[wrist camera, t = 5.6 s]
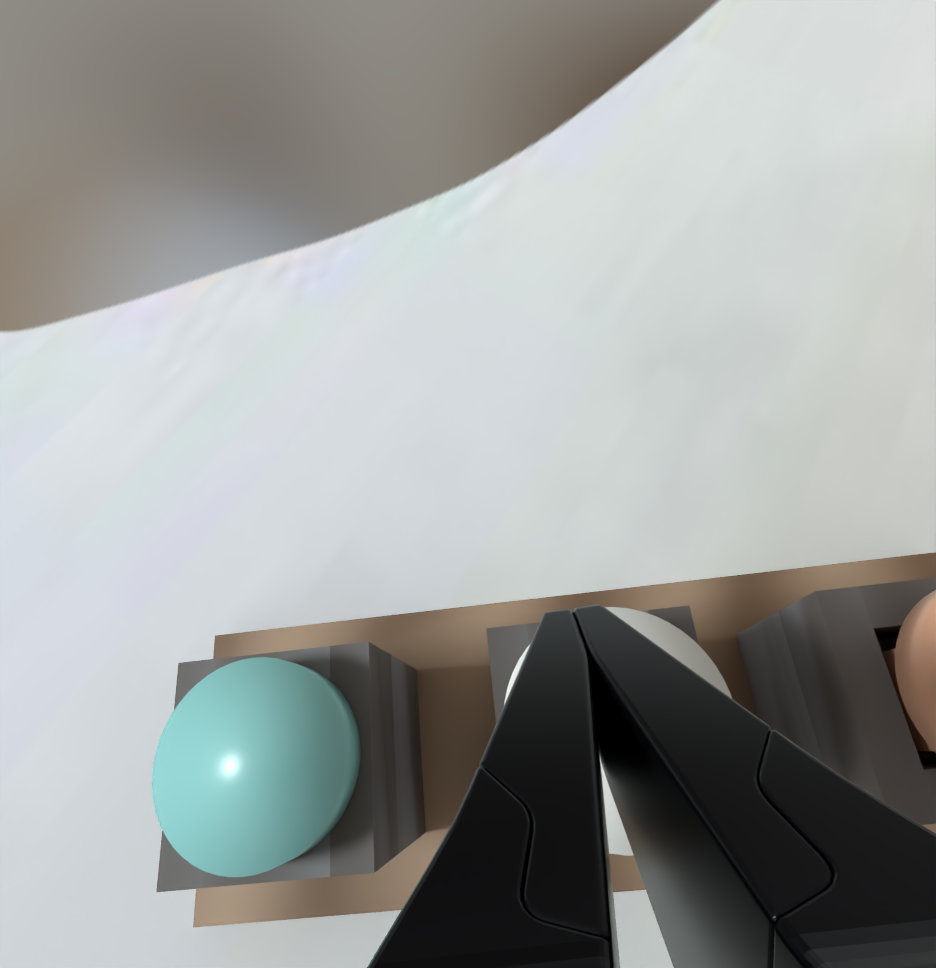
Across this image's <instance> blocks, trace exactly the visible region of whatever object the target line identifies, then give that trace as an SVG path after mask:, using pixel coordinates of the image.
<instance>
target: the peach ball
mask: <svg viewBox="0 0 936 968" xmlns="http://www.w3.org/2000/svg"><path fill="white" fill-rule="evenodd" d="M882 654H883V657H884V660H885V663H886V665H887V668H888V671H889V674H890V677H891V679H892V682H893V685H894V688H895V691H896V693H897V696H898V699H899V702H900V705H901V707H902V710H903V713H904V716H905V719H906V721H907V724H908V727H909V730H910V733H911V735H912V738H913V741H914V744H915V747H916V749H917V751H934V752H935V753H936V590H935V591H933V592H931V593H930V594H928V595H927V596H925V597H924V598H923V599H921V600H920V601H919V602H918V603H917V604H916V605H915V606H914V607H913V608H912V610H911V611H910V612H909V614H908V615H907V617H906V618H905V620H904V622H903V624H902V626H901V629H900V631H899V635H898V638H897V642H896V648H895V649H891V650H887V651H883V652H882Z"/></svg>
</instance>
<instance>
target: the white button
mask: <svg viewBox="0 0 936 968" xmlns="http://www.w3.org/2000/svg"><path fill="white" fill-rule="evenodd" d="M605 608H607V609H608V610H609V611H611V612H612V613H614V614H615V615H616V616H618V617H619V618H620V619H622V620H623V621H625V622H626V623H627V624H629V625H630V626H632V627H633V628H634V629H636V630H637V631H639V632H640V633H641V634H643V635H644V636H645V637H647V638H648V639H650V640H651V641H652V642H654V643H655V644H657V645H658V646H659V647H661V648H662V649H664V650H665V651H666V652H668V653H669V654H670V655H672V656H673V657H675V658H676V659H677V660H679V661H680V662H682V663H683V664H684V665H686V666H687V667H689V668H690V669H691V670H693V671H694V672H696V673H697V674H698V675H700V676H701V677H702V678H704V679H705V680H707V681H708V682H709V683H711V684H712V685H714V686H715V687H716V688H718V689H719V690H721V691H722V692H723V693H725V694H726V695H727V696H729V697H730V698H732V697H731V694H730V692H729V689H728V687H727V685H726V683H725V681H724V679H723V677H722V675H721V674H720V672H719V670H718V669H717V667H716V665H715V664H714V663H713V661H712V660H711V659H710V657H709V656H708V655H707V654H706V652H705V651H704V650H703V649H702V648H701V647H700V646H699V645H698V644H697V643H696V642H695V641H694V640H693V639H691V638H690V637H689V636H688V635H687V634H685V633H684V632H683V631H682V630H680V629H678V628H677V627H675V626H674V625H672V624H671V623H669V622H667V621H665V620H663V619H661V618H659V617H656V616H654V615H651V614H648V613H645V612H642V611H638V610H633V609H629V608H619V607H605ZM529 646H530V645H529ZM529 646H528V647H527V648H526V650H525V651H524V653H523V654H522V656H521V657H520V659H519V661H518V663H517V665H516V667H515V669H514V671H513V673H512V676H511V679H510V681H509V684H508V687H507V692H506V697H505V702H506V700H507V697H508V695H509V693H510V690H511V688H512V686H513V683H514V681H515V679H516V676H517V674H518V672H519V669H520V667H521V665H522V662H523V660H524V658H525V655H526V653H527V651H528V648H529ZM505 702H504V704H505ZM600 763H601V760H600ZM601 773H602V782H603V793H604V803H605V814H606V824H607V835H608V845H609V853H610V854H618V855H625V856H634V855H633V852H632V849H631V846H630V843H629V841H628V838H627V835H626V832H625V830H624V827H623V824H622V821H621V818H620V816H619V813H618V810H617V807H616V804H615V802H614V799H613V796H612V793H611V790H610V788H609V785H608V782H607V779H606V776H605V773H604V770H603V767H602V763H601Z"/></svg>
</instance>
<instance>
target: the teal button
mask: <svg viewBox="0 0 936 968" xmlns="http://www.w3.org/2000/svg"><path fill="white" fill-rule="evenodd" d="M360 754H361V748H360V736H359V731H358V726H357V722H356V719H355V716H354V713H353V711H352V709H351V707H350V705H349V703H348V701H347V700H346V698H345V697H344V695H343V694H342V692H341V691H340V690H339V689H338V688H337V687H336V686H335V684H334V683H332V682H331V681H330V680H329V679H328V678H326V677H325V676H323V675H322V674H320V673H318V672H317V671H315V670H312V669H310V668H307V667H305V666H302V665H298V664H295V663H292V662H289V661H285V660H281V659H277V658H269V657H257V658H249V659H243V660H239V661H236V662H233V663H230V664H228V665H226V666H223V667H221V668H219V669H217V670H216V671H214V672H212V673H211V674H209V675H208V676H206V677H205V678H204V679H202V680H201V681H200V682H199V683H197V684H196V685H195V686H194V687H193V688H192V689H191V690H190V691H189V692H188V693H187V694H186V695H185V697H184V698H183V699H182V700H181V702H180V703H179V704H178V705H177V707H176V709H175V710H174V712H173V713H172V715H171V716H170V718H169V720H168V722H167V724H166V726H165V728H164V730H163V733H162V735H161V738H160V740H159V743H158V747H157V751H156V754H155V759H154V766H153V776H152V790H153V800H154V806H155V811H156V814H157V817H158V820H159V823H160V826H161V828H162V830H163V832H164V834H165V836H166V838H167V839H168V841H169V842H170V844H171V845H172V847H173V848H174V849H175V850H176V851H177V852H178V853H179V854H180V855H181V856H182V857H183V858H184V859H185V860H187V861H188V862H189V863H190V864H192V865H193V866H195V867H197V868H199V869H201V870H203V871H205V872H208V873H211V874H214V875H218V876H225V877H246V876H252V875H257V874H260V873H263V872H266V871H269V870H271V869H273V868H276V867H278V866H280V865H282V864H284V863H286V862H288V861H290V860H292V859H294V858H296V857H299V856H301V855H303V854H304V853H306V852H307V851H309V850H310V849H312V848H313V847H315V846H316V845H317V844H318V843H319V842H320V841H322V840H323V839H324V838H325V837H326V836H327V835H328V834H329V832H330V831H331V830H332V829H333V828H334V827H335V825H336V824H337V822H338V821H339V820H340V818H341V817H342V815H343V813H344V812H345V810H346V808H347V806H348V804H349V802H350V799H351V797H352V794H353V792H354V789H355V786H356V782H357V778H358V773H359V767H360Z"/></svg>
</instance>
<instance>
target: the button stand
mask: <svg viewBox="0 0 936 968" xmlns="http://www.w3.org/2000/svg"><path fill="white" fill-rule="evenodd" d="M935 590H936V553H927V554H919V555H910V556H901V557H893V558H884V559H876V560H867V561H858V562H850V563H841V564H832V565H824V566H815V567H806V568H798V569H789V570H780V571H772V572H763V573H754V574H746V575H737V576H728V577H720V578H711V579H702V580H694V581H685V582H676V583H668V584H659V585H650V586H642V587H633V588H625V589H616V590H607V591H599V592H590V593H581V594H573V595H564V596H555V597H547V598H538V599H529V600H521V601H512V602H503V603H495V604H486V605H477V606H469V607H460V608H451V609H443V610H434V611H425V612H417V613H408V614H400V615H391V616H382V617H374V618H365V619H356V620H348V621H339V622H330V623H322V624H313V625H304V626H296V627H287V628H278V629H270V630H261V631H252V632H244V633H235V634H226V635H218V636H215V644H214V657H213V659H210V660H201V661H192V662H184V663H179V665H178V675H177V686H176V696H175V706H174V710H175V709H176V707H177V705H178V704H179V703H180V702H181V700H182V699H183V698H184V697H185V695H186V694H187V693H188V692H189V691H190V690H191V689H192V688H193V687H194V686H195V685H196V684H197V683H199V682H200V681H201V680H202V679H204V678H205V677H206V676H208V675H209V674H211V673H212V672H214V671H216V670H217V669H219V668H221V667H223V666H226V665H228V664H230V663H233V662H236V661H239V660H243V659H249V658H257V657H269V658H277V659H281V660H285V661H289V662H292V663H295V664H298V665H302V666H305V667H307V668H310V669H312V670H315V671H317V672H318V673H320V674H322V675H323V676H325V677H326V678H328V679H329V680H330V681H331V682H332V683H334V684H335V686H336V687H337V688H338V689H339V690H340V691H341V692H342V694H343V695H344V697H345V698H346V700H347V701H348V703H349V705H350V707H351V709H352V711H353V713H354V716H355V719H356V722H357V726H358V731H359V736H360V748H361V754H360V767H359V773H358V778H357V782H356V786H355V789H354V792H353V794H352V797H351V799H350V802H349V804H348V806H347V808H346V810H345V812H344V813H343V815H342V817H341V818H340V820H339V821H338V822H337V824H336V825H335V827H334V828H333V829H332V830H331V831H330V832H329V834H328V835H327V836H326V837H325V838H324V839H323V840H322V841H320V842H319V843H318V844H317V845H316V846H315V847H313V848H312V849H310V850H309V851H307V852H306V853H304V854H303V855H301V856H299V857H296V858H294V859H292V860H290V861H288V862H286V863H284V864H282V865H280V866H278V867H276V868H273V869H271V870H269V871H266V872H263V873H260V874H257V875H252V876H246V877H225V876H218V875H214V874H211V873H208V872H205V871H203V870H201V869H199V868H197V867H195V866H193V865H192V864H190V863H189V862H188V861H187V860H185V859H184V858H183V857H182V856H181V855H180V854H179V853H178V852H177V851H176V850H175V849H174V848H173V847H172V845H171V844H170V842H169V841H168V839H167V838H166V836H165V834H164V832H163V830H162V841H161V851H160V861H159V872H158V882H157V892H164V891H175V890H186V889H196V898H195V911H194V925H193V927H203V926H215V925H227V924H239V923H251V922H263V921H275V920H287V919H299V918H311V917H323V916H335V915H346V914H358V913H370V912H382V911H394V910H402V909H403V907H404V905H405V904H406V902H407V900H408V899H409V897H410V895H411V894H412V892H413V890H414V889H415V887H416V885H417V884H418V882H419V880H420V879H421V877H422V875H423V874H424V872H425V870H426V869H427V867H428V865H429V864H430V862H431V860H432V858H433V857H434V855H435V853H436V851H437V849H438V848H439V846H440V844H441V842H442V841H443V839H444V837H445V835H446V833H447V832H448V830H449V828H450V826H451V824H452V822H453V820H454V818H455V816H456V814H457V812H458V809H459V807H460V805H461V803H462V801H463V799H464V797H465V795H466V793H467V790H468V788H469V786H470V783H471V781H472V779H473V776H474V774H475V772H476V769H477V768H479V763H480V761H481V758H482V756H483V754H484V751H485V749H486V747H487V744H488V742H489V740H490V737H491V735H492V733H493V730H494V728H495V726H496V723H497V721H498V719H499V716H500V714H501V711H502V709H503V707H504V702H505V697H506V692H507V687H508V684H509V681H510V679H511V676H512V673H513V671H514V669H515V667H516V665H517V663H518V661H519V659H520V657H521V656H522V654H523V653H524V651H525V650H526V648H527V647H528V646H529V645H530V644H531V641H532V639H533V637H534V634H535V632H536V630H537V627H538V625H539V623H540V620H541V618H542V616H543V614H544V613H545V612H548V611H555V610H562V609H570V610H571V611H572V612H573V611H574V609H575V608H577V607H583V606H590V605H597V604H599V605H602V606H604V607H619V608H629V609H633V610H638V611H642V612H645V613H648V614H651V615H654V616H656V617H659V618H661V619H663V620H665V621H667V622H669V623H671V624H672V625H674V626H675V627H677V628H678V629H680V630H682V631H683V632H684V633H685V634H687V635H688V636H689V637H690V638H691V639H693V640H694V641H695V642H696V643H697V644H698V645H699V646H700V647H701V648H702V649H703V650H704V651H705V652H706V654H707V655H708V656H709V657H710V659H711V660H712V661H713V663H714V664H715V665H716V667H717V669H718V670H719V672H720V674H721V675H722V677H723V679H724V681H725V683H726V685H727V687H728V689H729V692H730V694H731V697H732V699H733V700H734V701H736V702H737V703H739V704H740V705H741V706H743V707H744V708H746V709H747V710H748V711H750V712H751V713H752V714H754V715H755V716H757V717H758V718H759V719H761V720H762V721H764V722H765V723H766V724H768V725H769V726H770V727H771V730H776V731H778V732H779V733H781V734H782V735H783V736H785V737H786V738H788V739H789V740H790V741H792V742H793V743H795V744H796V745H797V746H799V747H800V748H802V749H803V750H805V751H806V752H807V753H809V754H810V755H812V756H813V757H815V758H816V759H818V760H819V761H821V762H822V763H824V764H825V765H826V766H828V767H829V768H831V769H832V770H834V771H835V772H837V773H838V774H840V775H841V776H843V777H844V778H846V779H847V780H849V781H851V782H852V783H854V784H856V785H857V786H859V787H860V788H862V789H864V790H865V791H867V792H868V793H870V794H872V795H873V796H875V797H876V798H878V799H880V800H881V801H883V802H884V803H886V804H888V805H889V806H891V807H892V808H894V809H896V810H897V811H899V812H901V813H902V814H904V815H906V816H908V817H909V818H911V819H913V820H914V821H916V822H918V823H919V824H921V825H923V826H924V827H926V828H928V829H929V830H931V831H933V832H934V833H936V753H935V752H934V751H917V749H916V747H915V744H914V741H913V738H912V735H911V733H910V730H909V727H908V724H907V721H906V719H905V716H904V713H903V710H902V707H901V705H900V702H899V699H898V696H897V693H896V691H895V688H894V685H893V682H892V679H891V677H890V674H889V671H888V668H887V665H886V663H885V660H884V657H883V654H882V652H883V651H887V650H891V649H895V648H896V642H897V638H898V635H899V631H900V629H901V626H902V624H903V622H904V620H905V618H906V617H907V615H908V614H909V612H910V611H911V610H912V608H913V607H914V606H915V605H916V604H917V603H918V602H919V601H920V600H921V599H923V598H924V597H925V596H927V595H928V594H930V593H931V592H933V591H935ZM609 856H610V867H611V877H612V888H613V892H621V891H633V890H645V889H646V888H645V885H644V883H643V880H642V877H641V874H640V871H639V869H638V866H637V863H636V860H635V857H634V856H625V855H618V854H610V853H609Z"/></svg>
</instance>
